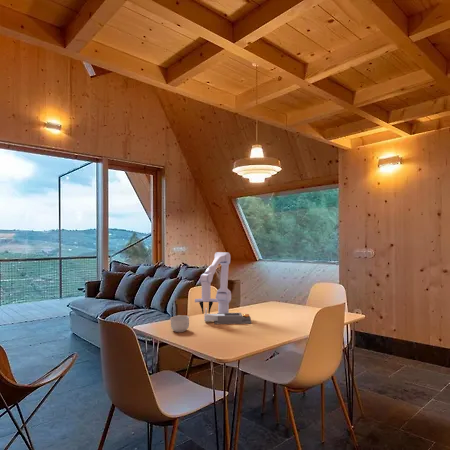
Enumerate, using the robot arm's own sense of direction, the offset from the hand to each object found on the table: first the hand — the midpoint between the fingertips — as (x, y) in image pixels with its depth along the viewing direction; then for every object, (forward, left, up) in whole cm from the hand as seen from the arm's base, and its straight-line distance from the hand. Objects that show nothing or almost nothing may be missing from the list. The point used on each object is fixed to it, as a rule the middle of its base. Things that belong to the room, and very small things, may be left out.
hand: (206, 313), depth 237 cm
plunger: (0, +26, -4) cm, 26 cm away
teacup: (+20, -15, -6) cm, 26 cm away
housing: (0, +17, -5) cm, 18 cm away
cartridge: (0, +6, -4) cm, 7 cm away
